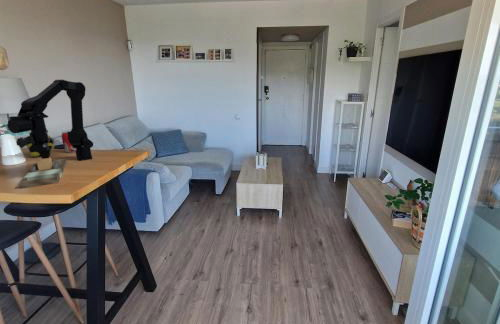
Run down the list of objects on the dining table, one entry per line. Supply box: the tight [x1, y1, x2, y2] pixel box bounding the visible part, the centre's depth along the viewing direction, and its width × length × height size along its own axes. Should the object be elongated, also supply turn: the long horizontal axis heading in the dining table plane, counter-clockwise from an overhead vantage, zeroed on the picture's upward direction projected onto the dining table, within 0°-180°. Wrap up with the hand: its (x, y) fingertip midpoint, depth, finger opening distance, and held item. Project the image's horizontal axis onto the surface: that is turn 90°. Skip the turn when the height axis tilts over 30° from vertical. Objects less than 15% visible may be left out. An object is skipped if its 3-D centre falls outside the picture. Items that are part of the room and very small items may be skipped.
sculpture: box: [25, 134, 55, 158], centre depth 154 cm, size 15×13×13 cm
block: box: [36, 157, 53, 170], centre depth 122 cm, size 4×4×4 cm
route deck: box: [19, 158, 68, 189], centre depth 122 cm, size 12×32×4 cm, turn 27°
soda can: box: [60, 130, 76, 154], centre depth 160 cm, size 7×7×12 cm
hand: (46, 162), depth 126 cm, fingers closed
